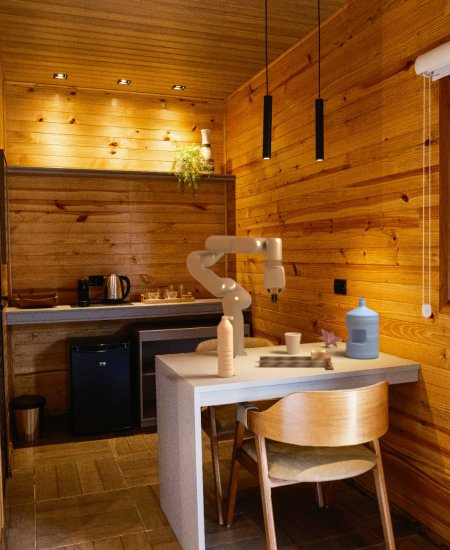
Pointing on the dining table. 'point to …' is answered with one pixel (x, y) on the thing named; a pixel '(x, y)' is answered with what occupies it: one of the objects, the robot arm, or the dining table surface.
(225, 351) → the water bottle
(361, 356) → the water jug
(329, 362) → the track
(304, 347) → the dining table surface
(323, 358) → the birch block
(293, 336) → the dixie cup
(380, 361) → the dining table surface
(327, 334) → the lily
